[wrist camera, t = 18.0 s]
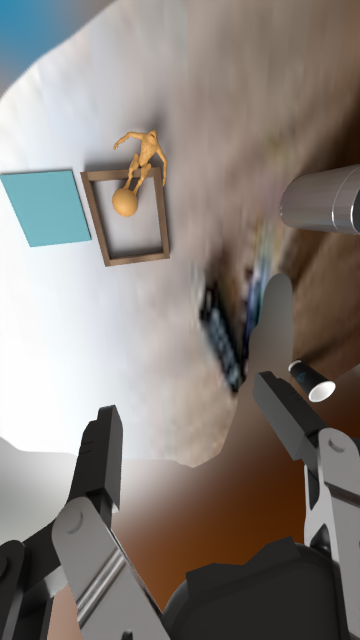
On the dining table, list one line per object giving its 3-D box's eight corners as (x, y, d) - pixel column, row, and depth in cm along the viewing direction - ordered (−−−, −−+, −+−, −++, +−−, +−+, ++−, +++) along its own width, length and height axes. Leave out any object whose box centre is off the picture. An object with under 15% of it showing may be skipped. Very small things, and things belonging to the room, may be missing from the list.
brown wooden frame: (158, 169, 33) (160, 166, 31) (168, 256, 40) (169, 258, 38) (82, 174, 31) (79, 172, 29) (106, 264, 38) (105, 266, 36)
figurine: (91, 202, 30) (119, 104, 23) (103, 192, 35) (129, 106, 27) (141, 232, 33) (180, 154, 26) (146, 219, 38) (180, 149, 30)
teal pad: (71, 171, 31) (70, 170, 30) (91, 240, 36) (90, 240, 35) (0, 175, 29) (-1, 175, 29) (31, 246, 34) (30, 247, 34)
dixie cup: (283, 361, 62) (310, 388, 53) (306, 353, 62) (337, 377, 53) (284, 378, 66) (308, 405, 57) (305, 370, 66) (333, 395, 57)
